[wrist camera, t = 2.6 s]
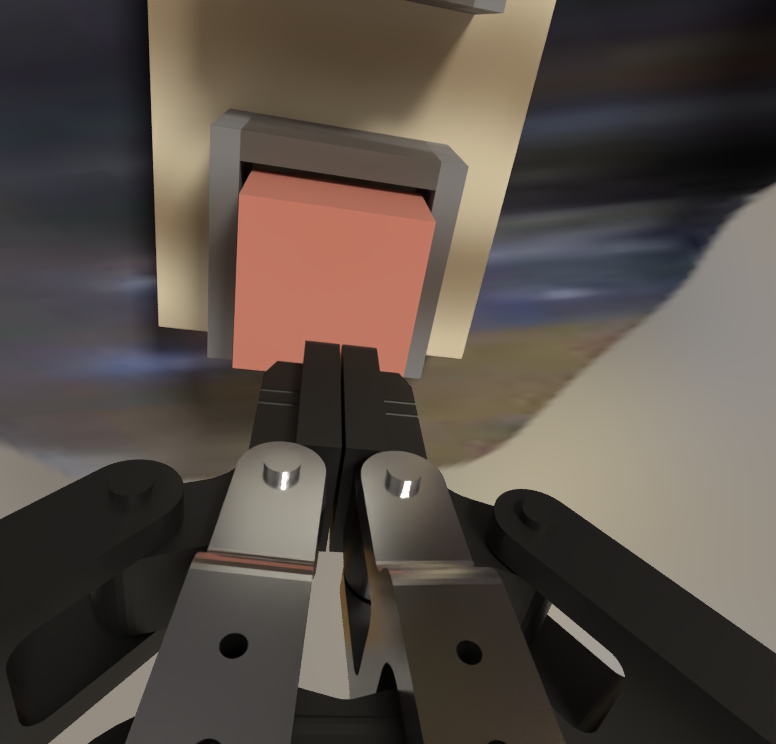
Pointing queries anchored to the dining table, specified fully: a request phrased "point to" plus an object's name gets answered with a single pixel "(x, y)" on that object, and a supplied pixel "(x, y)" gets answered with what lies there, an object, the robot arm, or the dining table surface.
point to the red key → (327, 268)
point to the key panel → (336, 133)
